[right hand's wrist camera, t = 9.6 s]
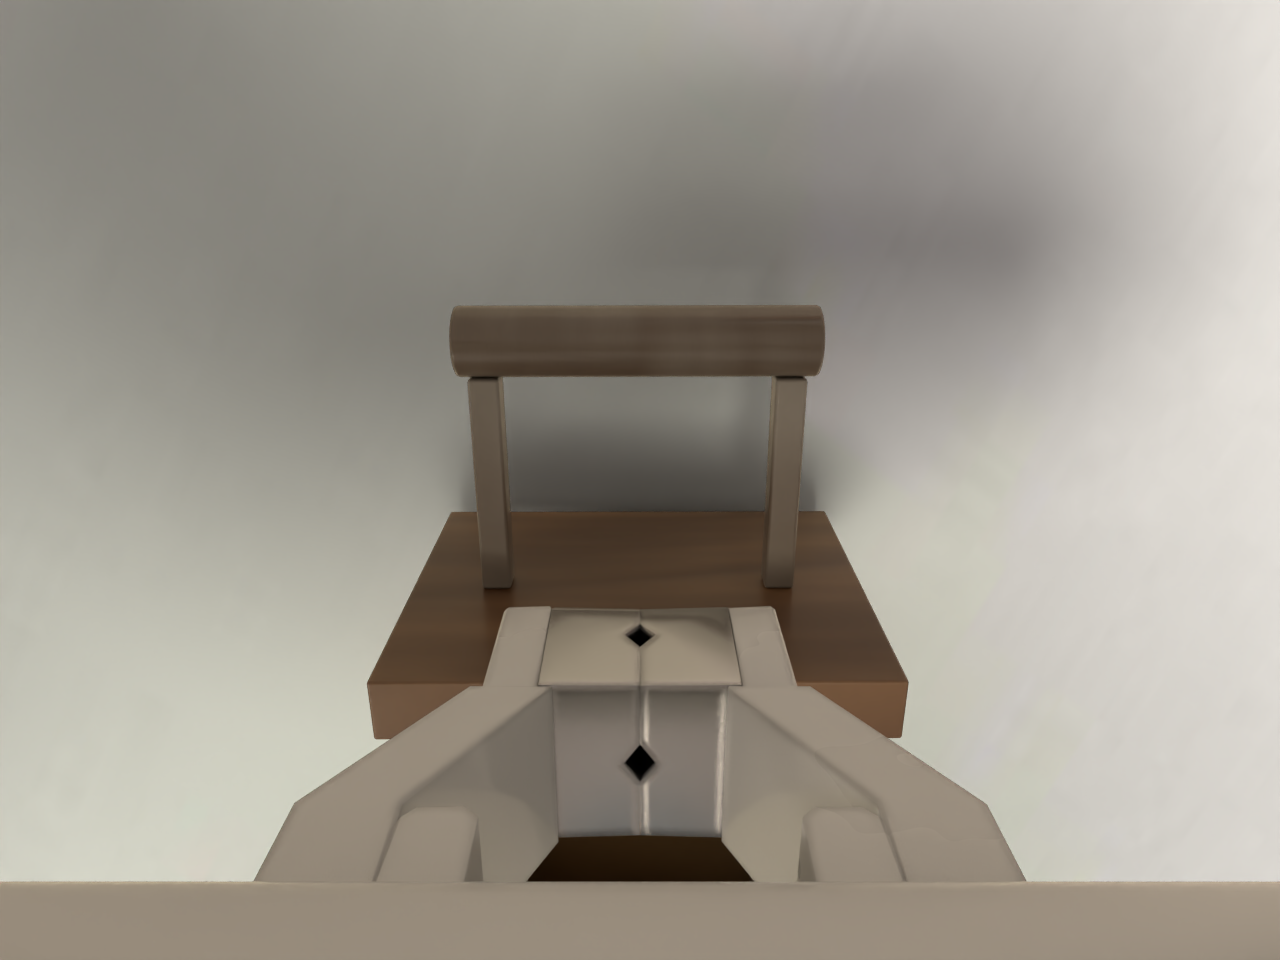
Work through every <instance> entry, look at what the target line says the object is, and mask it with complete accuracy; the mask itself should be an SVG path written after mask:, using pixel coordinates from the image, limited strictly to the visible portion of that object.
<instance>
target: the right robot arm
mask: <svg viewBox="0 0 1280 960" xmlns="http://www.w3.org/2000/svg"><path fill="white" fill-rule="evenodd" d="M629 835H648V836H685V837H722V842H723V843H724V845H725V846H726V847H727V848H728V850H729V851H730V852H731V853H732V855H733V856H734V857H735V858H736V859H737V861H738V862H739V863H740V864H741V866H742V867H743V868H744V869H745V871H746V872H747V873H748V874H749V875H750V877H751V878H752V879H753V880H754V882H526V881H527V880H528V879H529V877H530V876H531V875H532V874H533V873H534V871H535V870H536V869H537V868H538V866H539V865H540V864H541V863H542V861H543V860H544V859H545V858H546V857H547V855H548V854H549V853H550V852H551V850H552V849H553V848H554V847H555V846H556V844H557V843H558V837H594V836H629ZM0 960H1280V882H1027V881H1026V879H1025V877H1024V875H1023V874H1022V872H1021V870H1020V868H1019V866H1018V864H1017V862H1016V860H1015V858H1014V856H1013V854H1012V852H1011V850H1010V848H1009V846H1008V845H1007V843H1006V841H1005V839H1004V837H1003V835H1002V833H1001V831H1000V829H999V827H998V825H997V823H996V821H995V819H994V817H993V815H992V814H991V812H990V810H989V808H988V806H987V804H985V803H984V802H982V801H981V800H979V799H978V798H977V797H975V796H974V795H972V794H971V793H969V792H968V791H966V790H965V789H963V788H962V787H960V786H959V785H957V784H956V783H954V782H953V781H951V780H950V779H948V778H947V777H945V776H944V775H942V774H941V773H939V772H938V771H936V770H935V769H933V768H932V767H930V766H929V765H927V764H926V763H924V762H923V761H921V760H920V759H918V758H917V757H915V756H914V755H912V754H911V753H909V752H908V751H906V750H905V749H903V748H902V747H900V746H899V745H897V744H896V743H894V742H893V741H891V740H890V739H888V738H887V737H885V736H884V735H882V734H881V733H879V732H878V731H876V730H875V729H873V728H872V727H870V726H869V725H867V724H866V723H864V722H863V721H861V720H860V719H858V718H857V717H855V716H854V715H852V714H851V713H849V712H848V711H846V710H845V709H843V708H842V707H840V706H839V705H837V704H836V703H834V702H833V701H831V700H830V699H828V698H827V697H825V696H824V695H822V694H821V693H819V692H818V691H816V690H815V689H813V688H812V687H810V686H797V683H796V680H795V676H794V673H793V670H792V666H791V663H790V659H789V656H788V652H787V649H786V646H785V642H784V639H783V635H782V632H781V628H780V625H779V622H778V618H777V615H776V611H775V609H774V608H772V607H771V606H760V607H738V608H728V607H715V608H673V609H623V608H569V607H554V608H553V609H552V608H551V607H550V606H540V607H509V608H507V609H506V610H505V611H504V614H503V617H502V621H501V624H500V628H499V631H498V635H497V638H496V641H495V645H494V648H493V652H492V655H491V659H490V662H489V666H488V669H487V673H486V676H485V680H484V683H483V686H470V687H468V688H467V689H465V690H464V691H462V692H461V693H459V694H458V695H456V696H455V697H453V698H452V699H450V700H449V701H447V702H446V703H444V704H443V705H441V706H440V707H438V708H437V709H435V710H434V711H432V712H431V713H429V714H428V715H426V716H425V717H423V718H422V719H420V720H419V721H417V722H416V723H414V724H413V725H411V726H410V727H408V728H407V729H405V730H404V731H402V732H401V733H399V734H398V735H396V736H394V737H393V738H391V739H390V740H388V741H387V742H385V743H384V744H382V745H381V746H379V747H378V748H376V749H375V750H373V751H372V752H370V753H369V754H367V755H366V756H364V757H363V758H361V759H360V760H358V761H357V762H355V763H354V764H352V765H351V766H349V767H348V768H346V769H345V770H343V771H342V772H340V773H339V774H337V775H336V776H334V777H333V778H331V779H330V780H328V781H327V782H325V783H324V784H322V785H321V786H319V787H318V788H316V789H315V790H313V791H312V792H310V793H309V794H307V795H306V796H304V797H303V798H301V799H300V800H298V801H297V802H295V803H294V805H293V807H292V809H291V811H290V812H289V814H288V816H287V818H286V820H285V822H284V824H283V826H282V828H281V830H280V832H279V833H278V835H277V837H276V839H275V841H274V843H273V845H272V847H271V849H270V851H269V853H268V855H267V856H266V858H265V860H264V862H263V864H262V866H261V868H260V870H259V872H258V874H257V876H256V877H255V879H254V881H253V882H0Z"/></svg>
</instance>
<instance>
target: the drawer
mask: <svg viewBox="0 0 1280 960" xmlns="http://www.w3.org/2000/svg"><path fill="white" fill-rule="evenodd" d="M449 344H450V355H451V361H452V366H453V369H454V371H455V374H456V375H457V376H459V377H470V378H469V380H468V382H467V384H468V397H469V411H470V424H471V437H472V451H473V464H474V477H475V491H476V504H477V512H451V514H450V516H449V518H448V520H447V522H446V524H445V526H444V528H443V530H442V532H441V534H440V536H439V538H438V540H437V542H436V544H435V546H434V548H433V550H432V552H431V554H430V556H429V558H428V560H427V562H426V564H425V566H424V568H423V570H422V572H421V574H420V576H419V578H418V581H417V583H416V585H415V587H414V589H413V591H412V593H411V595H410V597H409V599H408V601H407V603H406V605H405V607H404V609H403V611H402V613H401V615H400V617H399V619H398V621H397V623H396V625H395V627H394V629H393V631H392V633H391V635H390V637H389V639H388V641H387V643H386V645H385V647H384V649H383V651H382V653H381V655H380V658H379V660H378V662H377V664H376V666H375V668H374V670H373V672H372V674H371V676H370V678H369V680H368V682H367V688H368V695H369V702H370V710H371V717H372V725H373V732H374V738H375V739H391V738H393V737H394V736H396V735H398V734H399V733H401V732H402V731H404V730H405V729H407V728H408V727H410V726H411V725H413V724H414V723H416V722H417V721H419V720H420V719H422V718H423V717H425V716H426V715H428V714H429V713H431V712H432V711H434V710H435V709H437V708H438V707H440V706H441V705H443V704H444V703H446V702H447V701H449V700H450V699H452V698H453V697H455V696H456V695H458V694H459V693H461V692H462V691H464V690H465V689H467V688H468V687H470V686H483V683H484V680H485V676H486V673H487V669H488V666H489V662H490V659H491V655H492V652H493V648H494V645H495V641H496V638H497V635H498V631H499V628H500V624H501V621H502V617H503V614H504V611H505V610H506V609H507V608H509V607H540V606H550V607H551V608H552V609H553V608H554V607H569V608H623V609H673V608H715V607H728V608H738V607H760V606H771V607H772V608H774V609H775V611H776V615H777V618H778V622H779V625H780V628H781V632H782V635H783V639H784V642H785V646H786V649H787V652H788V656H789V659H790V663H791V666H792V670H793V673H794V676H795V680H796V683H797V686H810V687H812V688H813V689H815V690H816V691H818V692H819V693H821V694H822V695H824V696H825V697H827V698H828V699H830V700H831V701H833V702H834V703H836V704H837V705H839V706H840V707H842V708H843V709H845V710H846V711H848V712H849V713H851V714H852V715H854V716H855V717H857V718H858V719H860V720H861V721H863V722H864V723H866V724H867V725H869V726H870V727H872V728H873V729H875V730H876V731H878V732H879V733H881V734H882V735H884V736H885V737H887V738H900V737H901V736H902V729H903V721H904V714H905V706H906V698H907V691H908V683H909V682H908V680H907V678H906V676H905V673H904V671H903V669H902V667H901V665H900V663H899V661H898V659H897V657H896V655H895V653H894V651H893V649H892V647H891V645H890V643H889V641H888V639H887V637H886V635H885V633H884V631H883V629H882V627H881V625H880V623H879V621H878V619H877V617H876V615H875V613H874V611H873V609H872V607H871V605H870V603H869V601H868V599H867V596H866V594H865V592H864V590H863V588H862V586H861V584H860V582H859V580H858V578H857V576H856V574H855V572H854V570H853V568H852V566H851V564H850V562H849V560H848V558H847V556H846V554H845V552H844V550H843V548H842V546H841V544H840V542H839V540H838V538H837V536H836V534H835V532H834V530H833V528H832V526H831V524H830V521H829V519H828V517H827V515H826V513H825V512H824V511H798V508H799V494H800V480H801V466H802V451H803V437H804V423H805V408H806V394H807V380H806V378H805V377H804V376H816V375H818V374H819V372H820V370H821V367H822V363H823V358H824V350H825V323H824V317H823V313H822V310H821V308H820V307H819V306H817V305H600V306H456V307H454V309H453V311H452V315H451V319H450V329H449ZM736 376H772V386H771V405H770V423H769V441H768V459H767V477H766V496H765V511H723V512H511V507H510V490H509V474H508V457H507V440H506V424H505V407H504V390H503V377H736ZM526 882H754V880H753V879H752V878H751V877H750V875H749V874H748V873H747V872H746V871H745V869H744V868H743V867H742V866H741V864H740V863H739V862H738V861H737V859H736V858H735V857H734V856H733V855H732V853H731V852H730V851H729V850H728V848H727V847H726V846H725V845H724V843H723V842H722V837H685V836H648V835H629V836H594V837H558V843H557V844H556V846H555V847H554V848H553V849H552V850H551V852H550V853H549V854H548V855H547V857H546V858H545V859H544V860H543V861H542V863H541V864H540V865H539V866H538V868H537V869H536V870H535V871H534V873H533V874H532V875H531V876H530V877H529V879H528V880H527V881H526Z"/></svg>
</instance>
